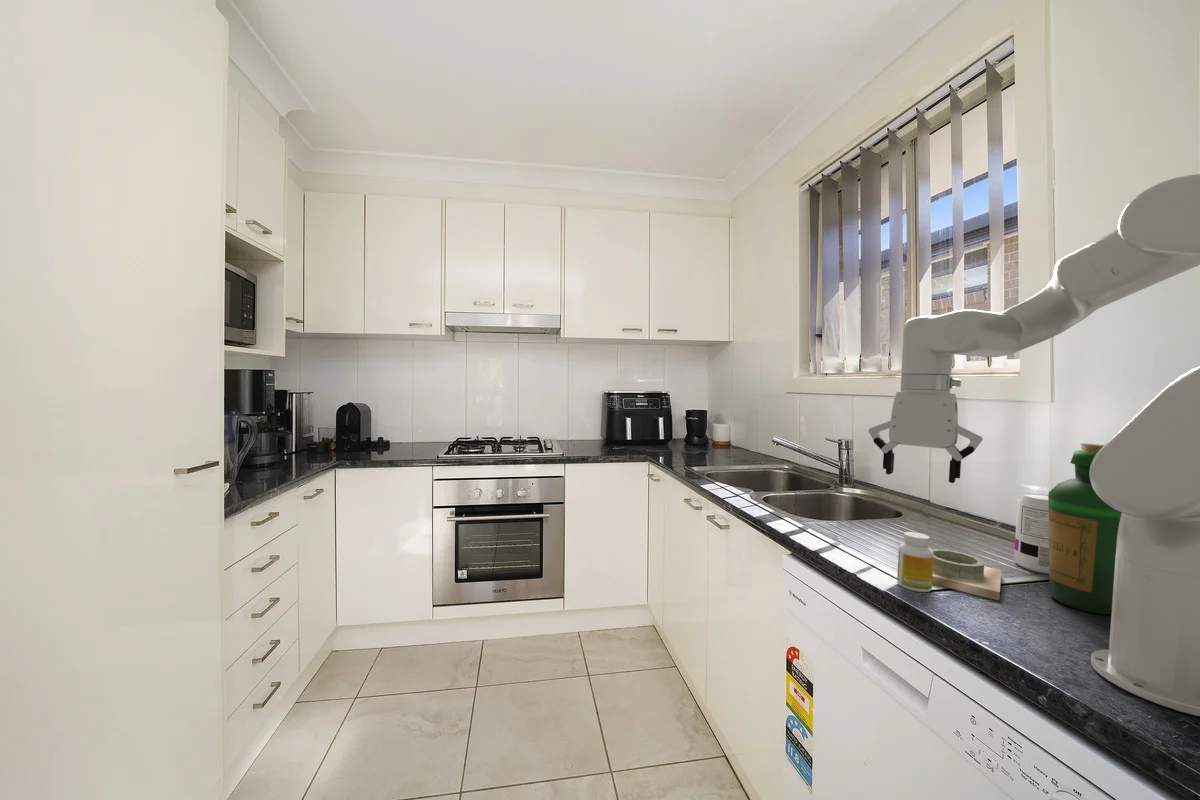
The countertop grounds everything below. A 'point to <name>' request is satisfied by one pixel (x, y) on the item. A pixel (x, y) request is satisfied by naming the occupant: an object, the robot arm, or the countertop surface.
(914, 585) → the supplement bottle
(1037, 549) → the supplement can
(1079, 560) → the bottle
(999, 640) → the countertop surface
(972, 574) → the collar holder
